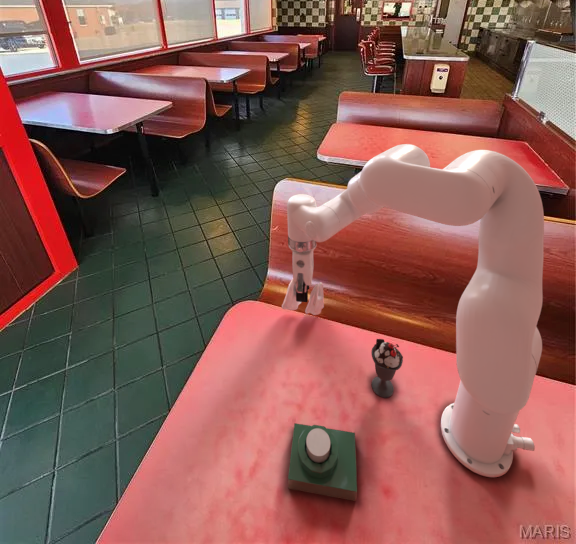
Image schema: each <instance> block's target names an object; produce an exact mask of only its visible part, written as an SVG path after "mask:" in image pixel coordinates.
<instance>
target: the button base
mask: <svg viewBox="0 0 576 544" xmlns="http://www.w3.org/2000/svg"><path fill="white" fill-rule="evenodd" d="M316 428H319V429H322V430H324V431H325V432H326V433H327V434H328V436H329V438H330V454H329V457H328V458H327V460H326V461H324V462H322V463H316V462H314V461H312V460H311V459H310V458H309V456H308V454H307V451H306V439H307V435H308V434H309V432H310V431H311V430H313V429H316ZM291 440H292V441H291V449H290V458H289V467H288V475H287V489H288V490H294V491H300V492H305V493H311V494H315V495H321V496H326V497H331V498H336V499H337V498H338V499H341V500H342V499H343V500H348V501H353V502H356V501H357V495H358V480H357V451H356V449H357V448H356V433H355V432H352V431H346V430H340V429H335V428H328V427H326V426H324V425H319V424H312V425H308V424H303V423H297V422H296V423H295V422H294V424H293V433H292V439H291Z"/></svg>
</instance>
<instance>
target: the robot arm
mask: <svg viewBox="0 0 576 544" xmlns="http://www.w3.org/2000/svg"><path fill="white" fill-rule="evenodd" d="M317 203H318V202H317V200H316V198H314V196H312V195H310V194H306V193H298V194H294V195H292V196H290V198H289V199H288V200H287V205H286V212H287V213H286V215H287V245H288V248H289V249H290V250H291V252H292V258H291V259H292V279H293V283H294V284H296V301H297V302H301V303H308V302H309V297H308V296H309V290H310V286H312V283H313V276H314V268H315V267H314V266H315V265H314V263H315V262H314V261H315V260H314V250H315V249H316V248H317V245H318V244H317V243H324V242H326V241H328V240H329V239H331V238H332V237H334V236H335V235H336V234H338V233H339V232H340V231H342V230H343V229H345V228H346V227H348V226H349V225H350V224H352V223H353V222H355V221H357V220H358V219H359V218H361V217H363V216H364V215H366V214H368V215H372V214H376V213H377V212H379V211H380V210H382V209H384V208H387V209H390V210H393V211H396V212H400V213H403V214H406V215H410V216H413V217H417V218H420V219H423V220H427V221H430V222H434V223H438V224H442V225H445V226H453V227H464V226H469V225H472V224H474V223H477V222H479V227H478V234H477V235H478V239H477V240H478V241H477V243H478V250H477V251H478V252H477V253H478V254H477V264H476V265H477V266H476V269H475V271H474V273H473V275H472V276H471V279H470V280H469V282H468V284H467V285H466V288H465V289H464V291H463V292H462V293H461V296H460V298H459V301H458V304H457V309H456V316H455V341H456V342H455V351H456V352H455V355H456V356H455V359H456V361H455V362H456V368H457V374H458V377H459V379H460V381H459V384H458V389H457V391H456V396H455V399H454V402H453V403H450V404H449V405H447V406H446V407H445V408H444V410H443V412H442V414H441V417H440V431H441V435H442V438H443V440H444V442H445V444H446V446H447V449H448V450H449V451H450V452H451V454H452V455H453V456H454V457H455V459H456V460H458V462H459V463H461V464H462V465H463V466H464V467H465V468H467V469H468V470H470V471H471V472H473V473H475V474H477V475H480V476H483V477H487V478H497V477H502V476H503V475H505V474H506V473H508V471H509V470H510V468H511V466H512V464H513V459H514V451H517V450H518V449H521V450H525V451H529V452H530V451H531V452H535V451H536V450H535V449H536V447H535V446H536V445H535V443H534V441H533V439H532V438H531V437H527V436H526V437H525V436H515V435H514V434H521V428H520V426H519V424H516V422H517V419H518V417H519V414H520V411H521V410H523V409H524V408H525V406H527V404H528V402H529V400H530V396H531V392H532V389H533V385H534V381H535V377H536V375H537V372H538V368H539V364H540V361H541V357H542V352H543V340H542V336H541V333H540V331H539V328H538V326H537V325H538V321H539V319H540V315H541V312H542V308H543V300H544V295H543V294H544V293H543V274H544V273H543V272H544V271H543V270H544V258H545V257H544V241H545V215H544V214H545V213H544V206H543V201H542V197H541V194H540V191H539V188H538V187H537V185H536V183H535V181H534V179H533V178H532V176H530V174H529V173H528V171H526V169H525V168H524V167H523V166H522V165H520V164H519V162H517V161H515V160H514V159H512V158H511V157H509V156H507V155H506V154H503V153H500V152H498V151H494V150H489V149H475V150H471V151H468V152H466V153H464V154H461V155H459V156H458V157H456V158H455V159H454V160H452V161H451V162H450V163H449V164H448V165H446V166H445V167H443V168H436V167H431V162H430V158H429V156H428V154H426V152H425V150H423V149H422V148H421V147H419V146H417V145H415V144H412V143H403V144H397V145H395V146H393V147H391V148H388V149H387V150H385V151H383V152H381V153H379V154H377V155H375V156H374V157H372V158H370V159H369V160H368V161H367V162H366V163H365V164H364V166H363V167H362V170H361V171H359V172H358V173H357V174H356V175H354V176H353V177H351V178H350V179H349V180H348V183H347V186H346V189H344V190H343V191H342V192H340V193H339V194H338V195H336V196H335V197H333V198H331V199H330V200H328V201H326V202H324V203H322V204H321V205H319V206H318V205H317ZM513 433H514V434H513Z"/></svg>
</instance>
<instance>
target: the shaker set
mask: <svg viewBox="0 0 576 544" xmlns="http://www.w3.org/2000/svg"><path fill="white" fill-rule="evenodd" d="M324 294H325V293H324V285H323V282H319V283H316V284H315V285H314V286H313V288H312V289H311V292H310V294H309V297H308V302H307V305H306V308H305V310H304V313H305V314H306V315H308V314H311V315H313V316H317V315H318V316H319V315H320V314H322V309H324V308H325V302H324V301H325V300H324V299H325V296H324ZM301 304H302V302H297V301H296V284H294V283H293V278H292V279H291V281H289V284H288V286H287V289H286V294H285V297H284V299H283V302H282V304H281V309H282V310H288V311H297V310H298V309H299V305H301Z"/></svg>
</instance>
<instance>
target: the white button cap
mask: <svg viewBox="0 0 576 544" xmlns="http://www.w3.org/2000/svg"><path fill="white" fill-rule="evenodd" d="M306 451H307V454H308V456H309V458H310V459H311V460H312V461H314V462H316V463H322V462H324V461H326V460H327V458H328V457H329V454H330V438H329V436H328V434H327V433H326V432H325V431H324V430H322V429H319V428H316V429H313V430H311V431H310V432H309V434H308V435H307V439H306Z"/></svg>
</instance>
